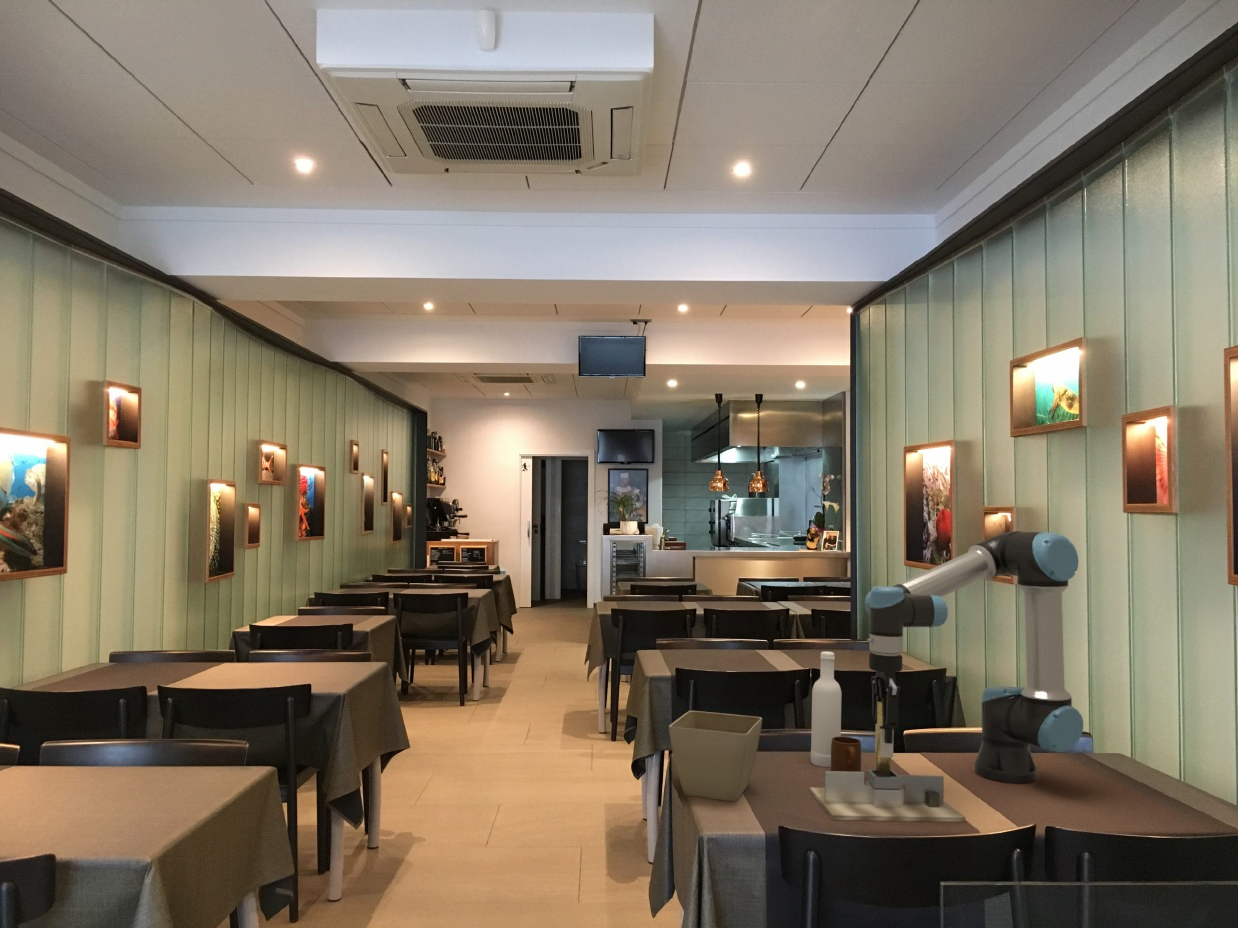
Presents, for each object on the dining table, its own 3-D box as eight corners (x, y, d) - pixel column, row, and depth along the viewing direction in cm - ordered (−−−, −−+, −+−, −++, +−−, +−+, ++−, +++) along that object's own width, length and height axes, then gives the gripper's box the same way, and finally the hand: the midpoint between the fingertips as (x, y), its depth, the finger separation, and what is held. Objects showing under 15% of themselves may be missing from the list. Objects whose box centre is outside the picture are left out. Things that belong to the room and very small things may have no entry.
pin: (887, 769, 213) (889, 700, 214) (892, 773, 210) (893, 703, 210) (874, 769, 213) (875, 700, 213) (878, 773, 209) (880, 703, 210)
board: (931, 793, 222) (931, 789, 222) (965, 821, 202) (965, 817, 202) (810, 791, 221) (810, 787, 221) (832, 819, 201) (832, 815, 201)
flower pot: (665, 797, 214) (667, 725, 214) (687, 775, 232) (689, 709, 232) (745, 808, 207) (747, 734, 208) (761, 785, 225) (763, 717, 226)
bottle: (844, 762, 248) (846, 652, 249) (834, 769, 241) (836, 655, 242) (816, 757, 252) (818, 649, 253) (806, 763, 245) (808, 652, 247)
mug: (868, 786, 227) (869, 748, 227) (838, 785, 227) (838, 747, 227) (856, 772, 239) (857, 736, 239) (827, 771, 239) (828, 735, 239)
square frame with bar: (938, 798, 214) (938, 771, 214) (947, 807, 208) (948, 778, 208) (866, 797, 214) (867, 769, 214) (874, 805, 208) (874, 776, 208)
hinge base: (930, 799, 214) (930, 769, 215) (940, 808, 208) (940, 777, 208) (821, 797, 213) (822, 767, 214) (828, 806, 207) (829, 775, 208)
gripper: (859, 647, 220) (857, 744, 219) (881, 658, 204) (879, 763, 203) (889, 648, 221) (888, 745, 220) (914, 659, 204) (912, 764, 203)
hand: (883, 754), depth 211 cm, fingers closed on pin, 3 cm apart
